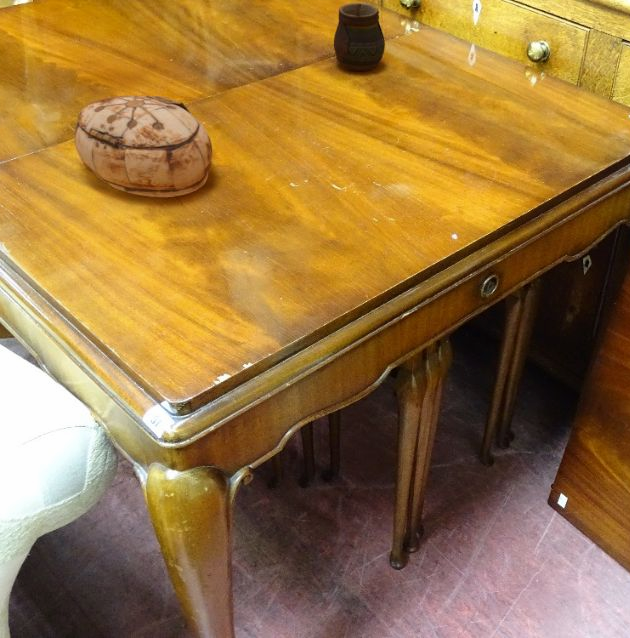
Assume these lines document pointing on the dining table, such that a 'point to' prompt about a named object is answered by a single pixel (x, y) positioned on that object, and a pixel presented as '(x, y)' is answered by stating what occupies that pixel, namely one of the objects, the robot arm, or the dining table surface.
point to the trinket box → (144, 145)
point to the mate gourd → (359, 37)
